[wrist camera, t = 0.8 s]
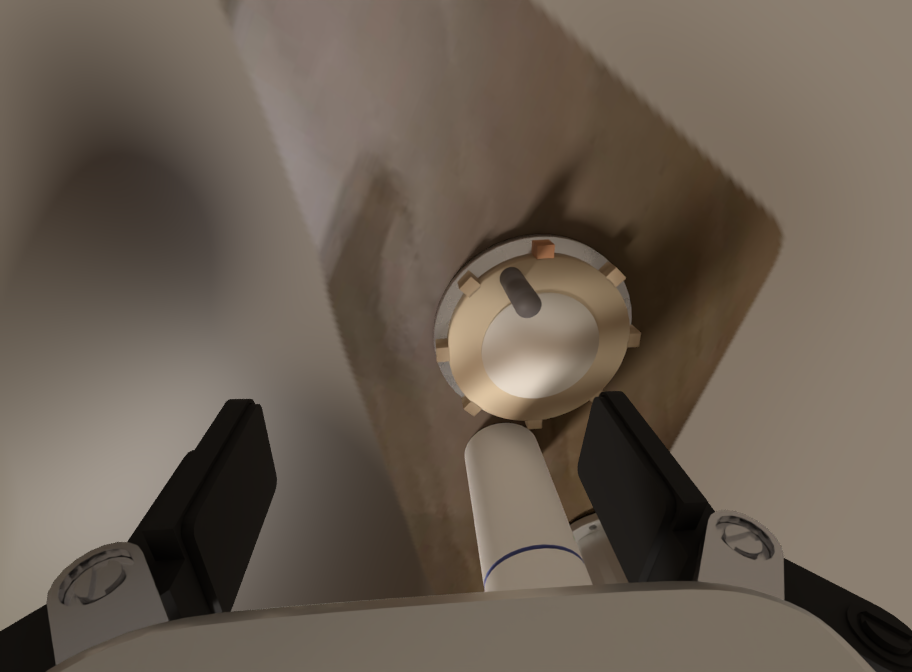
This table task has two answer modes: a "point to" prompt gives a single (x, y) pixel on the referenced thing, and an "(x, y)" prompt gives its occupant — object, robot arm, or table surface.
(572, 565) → the cylindrical container
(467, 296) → the dial
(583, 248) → the dial base
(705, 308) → the table surface
